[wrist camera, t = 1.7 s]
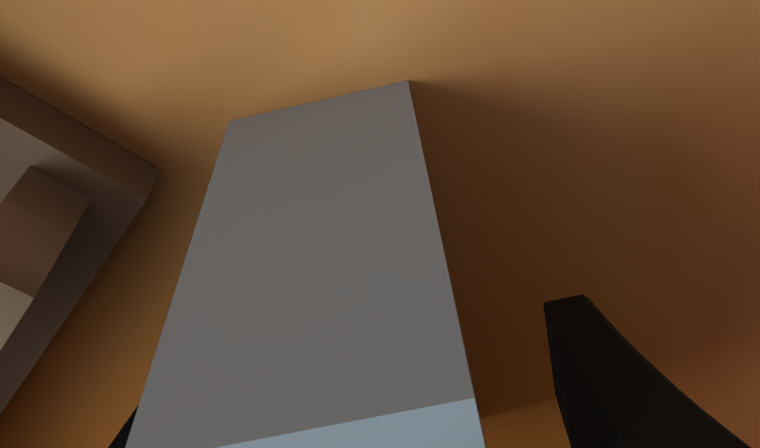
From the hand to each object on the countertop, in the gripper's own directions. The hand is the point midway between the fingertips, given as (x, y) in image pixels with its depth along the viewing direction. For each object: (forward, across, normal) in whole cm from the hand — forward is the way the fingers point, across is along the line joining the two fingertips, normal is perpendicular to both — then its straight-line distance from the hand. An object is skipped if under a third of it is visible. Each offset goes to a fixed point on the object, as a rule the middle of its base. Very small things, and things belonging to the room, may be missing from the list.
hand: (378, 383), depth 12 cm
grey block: (+2, 0, 0) cm, 2 cm away
